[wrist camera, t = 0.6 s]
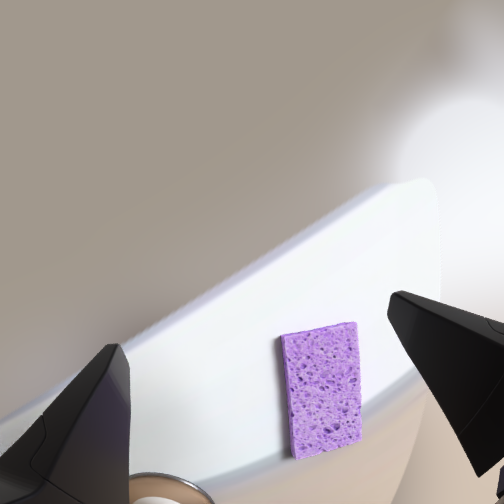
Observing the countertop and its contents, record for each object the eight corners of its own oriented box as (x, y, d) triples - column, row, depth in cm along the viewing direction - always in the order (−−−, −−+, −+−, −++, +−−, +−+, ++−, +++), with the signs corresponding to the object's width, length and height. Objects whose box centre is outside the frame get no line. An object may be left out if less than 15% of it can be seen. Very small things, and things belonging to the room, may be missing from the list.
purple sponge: (289, 452, 22) (294, 460, 20) (278, 332, 24) (283, 334, 23) (354, 435, 23) (362, 441, 21) (349, 320, 25) (358, 321, 24)
